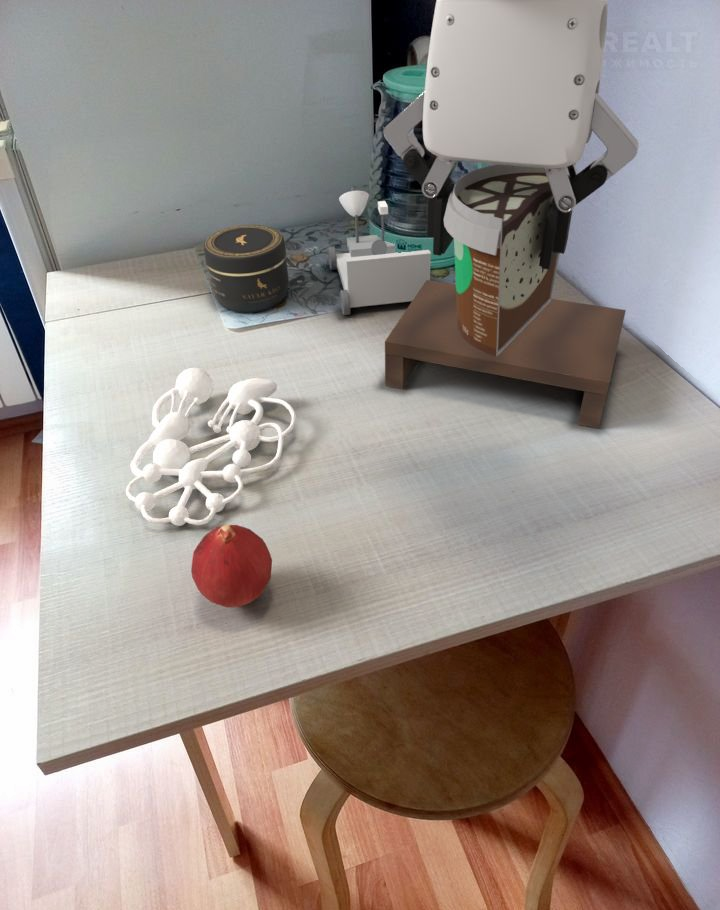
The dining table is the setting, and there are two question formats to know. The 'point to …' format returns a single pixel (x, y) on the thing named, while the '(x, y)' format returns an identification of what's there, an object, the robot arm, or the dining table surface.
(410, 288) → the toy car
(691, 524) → the dining table surface
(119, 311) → the dining table surface
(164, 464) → the tangled rod sculpture
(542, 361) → the shelf
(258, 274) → the jar
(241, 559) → the onion
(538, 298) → the food container
